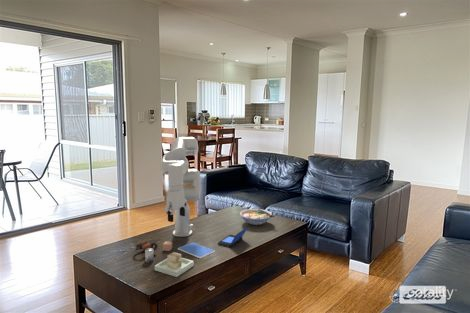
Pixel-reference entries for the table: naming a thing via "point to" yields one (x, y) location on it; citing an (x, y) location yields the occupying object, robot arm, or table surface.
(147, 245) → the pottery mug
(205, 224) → the table surface
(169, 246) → the terracotta cube
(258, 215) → the ramen bowl
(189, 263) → the tray
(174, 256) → the beech block
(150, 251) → the grey canister
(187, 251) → the tablet computer
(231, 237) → the handheld game console
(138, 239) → the table surface
